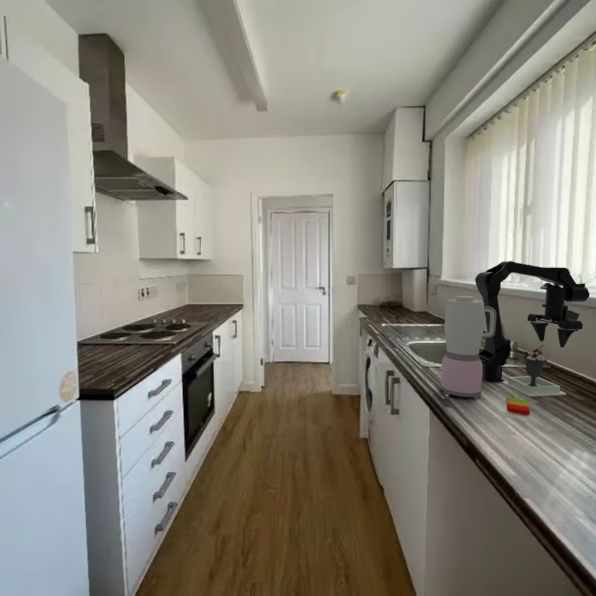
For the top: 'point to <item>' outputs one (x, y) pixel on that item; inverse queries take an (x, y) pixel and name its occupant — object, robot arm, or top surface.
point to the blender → (464, 346)
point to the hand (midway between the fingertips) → (551, 344)
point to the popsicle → (518, 406)
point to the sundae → (534, 364)
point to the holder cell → (540, 390)
